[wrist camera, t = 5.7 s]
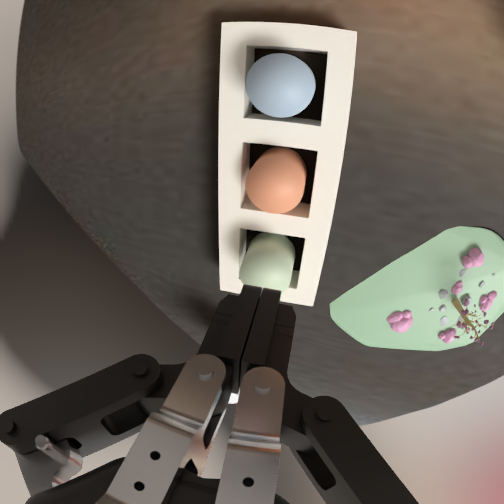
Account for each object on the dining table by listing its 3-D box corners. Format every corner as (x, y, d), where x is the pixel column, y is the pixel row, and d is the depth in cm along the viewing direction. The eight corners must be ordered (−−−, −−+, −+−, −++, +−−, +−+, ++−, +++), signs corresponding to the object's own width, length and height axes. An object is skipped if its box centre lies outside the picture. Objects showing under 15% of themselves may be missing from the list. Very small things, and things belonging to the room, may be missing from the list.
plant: (359, 371, 41) (359, 423, 34) (308, 270, 33) (300, 331, 26) (510, 322, 30) (529, 370, 23) (512, 196, 22) (556, 241, 15)
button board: (227, 273, 35) (220, 289, 32) (232, 27, 20) (221, 22, 18) (314, 287, 33) (312, 306, 31) (353, 36, 19) (357, 31, 16)
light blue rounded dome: (256, 108, 22) (244, 114, 19) (258, 54, 20) (247, 51, 17) (313, 114, 22) (311, 121, 19) (317, 59, 19) (317, 56, 16)
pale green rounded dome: (248, 266, 32) (238, 291, 28) (250, 228, 29) (239, 251, 26) (292, 273, 31) (287, 300, 28) (298, 235, 28) (293, 260, 25)
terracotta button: (254, 191, 28) (244, 209, 25) (257, 143, 25) (246, 155, 22) (303, 198, 27) (300, 217, 24) (309, 150, 25) (307, 163, 21)
